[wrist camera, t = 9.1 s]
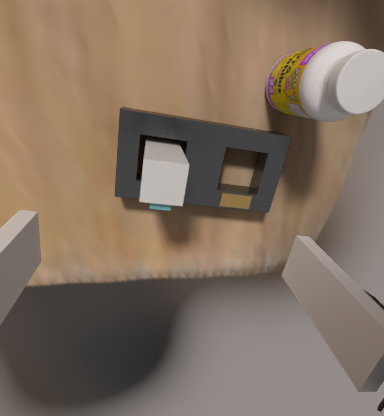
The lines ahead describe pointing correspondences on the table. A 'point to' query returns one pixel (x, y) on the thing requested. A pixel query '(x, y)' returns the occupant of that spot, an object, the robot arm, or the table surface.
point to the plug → (163, 174)
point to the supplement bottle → (327, 81)
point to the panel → (202, 158)
